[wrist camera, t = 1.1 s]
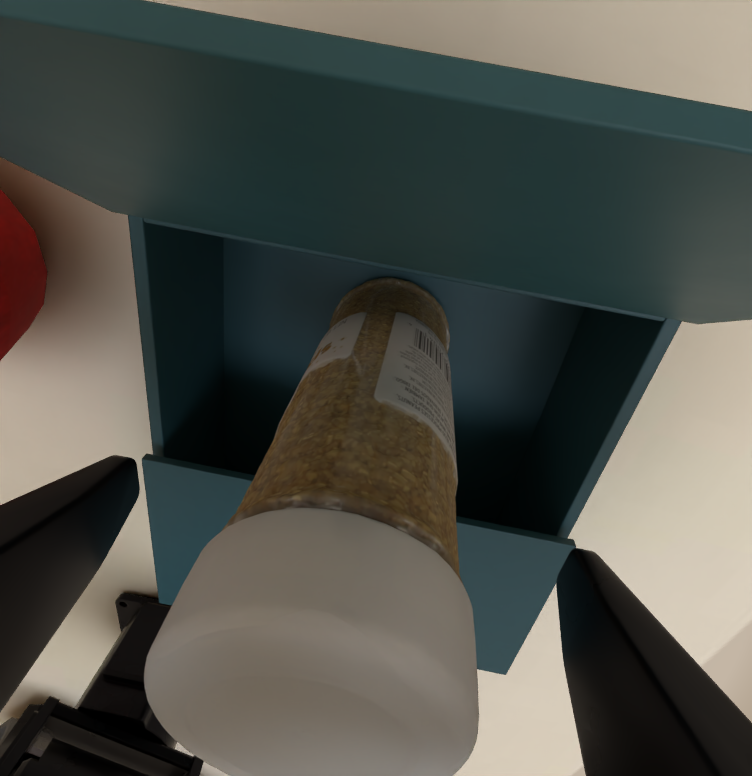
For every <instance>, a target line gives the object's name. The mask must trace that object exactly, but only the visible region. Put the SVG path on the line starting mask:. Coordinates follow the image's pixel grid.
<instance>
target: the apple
mask: <svg viewBox="0 0 752 776" xmlns="http://www.w3.org/2000/svg"><path fill="white" fill-rule="evenodd" d="M46 280H47V269H46V265H45V262H44V259H43V256H42V253H41V250H40V247H39V243H38V240H37V237H36V234H35V231H34V230H33V229H32V227H31V226H30V225H29V224H28V222H27V221H26V220H25V219H24V217H23V216H22V215H21V213H20V212H19V211H18V210H17V208H16V207H15V206H14V205H13V203H12V202H11V201H10V200H9V198H8V197H7V196H6V194H5V193H4V192H3V191H1V190H0V360H1V359H2V358H3V357H4V356H5V355H6V354H7V353H8V351H9V350H10V349H11V348H12V347H13V346H14V344H15V343H16V342H17V341H18V340H19V339H20V338H21V336H22V335H23V334H24V333H25V332H26V331H27V329H28V328H29V327H30V325H31V324H32V322H33V321H34V319H35V318H36V316H37V314H38V313H39V311H40V310H41V308H42V306H43V305H44V298H45V289H46Z"/></svg>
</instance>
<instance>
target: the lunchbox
mask: <svg viewBox="0 0 752 776" xmlns="http://www.w3.org/2000/svg"><path fill="white" fill-rule="evenodd" d="M128 220H129V229H130V239H131V248H132V258H133V267H134V277H135V286H136V296H137V305H138V315H139V324H140V334H141V343H142V353H143V362H144V372H145V381H146V391H147V400H148V410H149V419H150V429H151V438H152V448H153V455H151V454H146V455H145V456H144V457H143V458H142V466H143V474H144V482H145V490H146V499H147V507H148V515H149V523H150V531H151V540H152V548H153V556H154V564H155V572H156V581H157V589H158V597H159V603H162V604H167V605H172V604H173V603H174V601H175V599H176V597H177V595H178V593H179V591H180V589H181V587H182V585H183V583H184V581H185V580H186V578H187V576H188V574H189V572H190V571H191V569H192V567H193V565H194V564H195V562H196V560H197V558H198V557H199V555H200V553H201V551H202V550H203V548H204V547H205V546H206V545H207V544H208V543H209V542H210V541H211V540H212V539H213V538H214V537H215V536H216V535H217V534H219V533H220V532H221V531H222V529H223V528H224V527H225V526H226V525H227V523H228V521H229V520H230V519H231V518H232V516H233V515H234V514H236V512H237V509H238V507H239V506H240V505H241V503H242V500H243V498H244V496H245V494H246V492H247V490H248V488H249V486H250V485H251V483H252V481H253V480H254V477H255V475H256V473H257V471H258V468H259V466H260V465H261V463H262V462H263V459H264V457H265V455H266V453H267V452H268V450H269V448H270V446H271V444H272V442H273V440H274V437H275V434H276V431H277V429H278V426H279V423H280V421H281V419H282V417H283V415H284V413H285V411H286V408H287V406H288V405H289V403H290V401H291V399H292V397H293V395H294V393H295V391H296V389H297V387H298V385H299V383H300V381H301V379H302V377H303V375H304V373H305V372H306V370H307V368H308V366H309V364H310V361H311V359H312V357H313V355H314V353H315V351H316V349H317V347H318V345H319V343H320V342H321V340H322V339H323V337H324V336H325V334H326V333H327V332H328V330H329V328H330V322H331V319H332V316H333V313H334V311H335V309H336V307H337V306H338V304H339V303H340V301H341V300H342V298H343V297H344V296H345V295H346V294H347V293H348V292H349V291H351V290H353V289H354V288H356V287H357V286H360V285H362V284H363V283H365V282H367V281H370V280H374V279H378V278H384V277H392V278H396V279H402V280H404V281H410V282H412V283H414V284H416V285H418V286H420V287H421V288H423V289H424V290H426V291H428V292H429V293H430V294H431V295H432V296H433V297H434V298H435V299H436V301H437V302H438V303H439V304H440V305H441V307H442V309H443V310H444V312H445V315H446V319H447V322H448V325H449V333H450V343H449V349H448V353H447V355H448V359H449V363H450V371H451V386H452V401H453V417H454V432H455V448H456V463H457V478H458V484H457V490H456V495H455V503H456V526H457V541H458V558H459V574H460V578H461V580H462V583H463V585H464V588H465V590H466V592H467V594H468V596H469V599H470V602H471V605H472V609H473V620H474V631H475V643H476V661H477V669H479V670H484V671H489V672H494V673H499V674H504V675H506V674H507V672H508V670H509V668H510V666H511V664H512V663H513V661H514V659H515V657H516V655H517V654H518V652H519V650H520V648H521V646H522V644H523V643H524V641H525V639H526V637H527V635H528V633H529V632H530V630H531V628H532V626H533V624H534V623H535V621H536V619H537V617H538V615H539V613H540V612H541V610H542V608H543V606H544V604H545V602H546V601H547V599H548V597H549V595H550V593H551V592H552V590H553V588H554V586H555V584H556V582H557V576H558V574H559V571H560V570H561V568H562V566H563V564H564V562H565V560H566V559H567V557H568V555H569V553H570V552H571V550H573V549H574V548H576V545H575V542H574V540H573V539H568V536H569V534H570V532H571V530H572V528H573V526H574V525H575V523H576V521H577V519H578V517H579V515H580V513H581V511H582V509H583V508H584V506H585V504H586V502H587V500H588V498H589V496H590V494H591V492H592V490H593V489H594V487H595V485H596V483H597V481H598V479H599V477H600V475H601V473H602V471H603V470H604V468H605V466H606V464H607V462H608V460H609V458H610V456H611V454H612V453H613V451H614V449H615V447H616V445H617V443H618V441H619V439H620V437H621V435H622V434H623V432H624V430H625V428H626V426H627V424H628V422H629V420H630V418H631V417H632V415H633V413H634V411H635V409H636V407H637V405H638V403H639V401H640V399H641V398H642V396H643V394H644V392H645V390H646V388H647V386H648V384H649V382H650V381H651V379H652V377H653V375H654V373H655V371H656V369H657V367H658V365H659V363H660V362H661V360H662V358H663V356H664V354H665V352H666V350H667V348H668V346H669V345H670V343H671V341H672V339H673V337H674V335H675V333H676V331H677V329H678V327H679V326H680V324H681V322H682V321H679V320H674V319H669V318H663V317H658V316H653V315H648V314H642V313H637V312H632V311H627V310H622V309H616V308H611V307H606V306H601V305H595V304H590V303H585V302H580V301H575V300H569V299H564V298H559V297H554V296H548V295H543V294H538V293H533V292H528V291H522V290H517V289H512V288H507V287H502V286H496V285H491V284H486V283H481V282H475V281H470V280H465V279H460V278H455V277H449V276H444V275H439V274H434V273H428V272H423V271H418V270H413V269H408V268H402V267H397V266H392V265H387V264H381V263H376V262H371V261H366V260H361V259H355V258H350V257H345V256H340V255H334V254H329V253H324V252H319V251H314V250H308V249H303V248H298V247H293V246H287V245H282V244H277V243H272V242H267V241H261V240H256V239H251V238H246V237H240V236H235V235H230V234H225V233H220V232H214V231H209V230H204V229H199V228H194V227H188V226H183V225H178V224H173V223H167V222H162V221H157V220H152V219H147V218H141V217H136V216H131V215H128Z"/></svg>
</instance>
